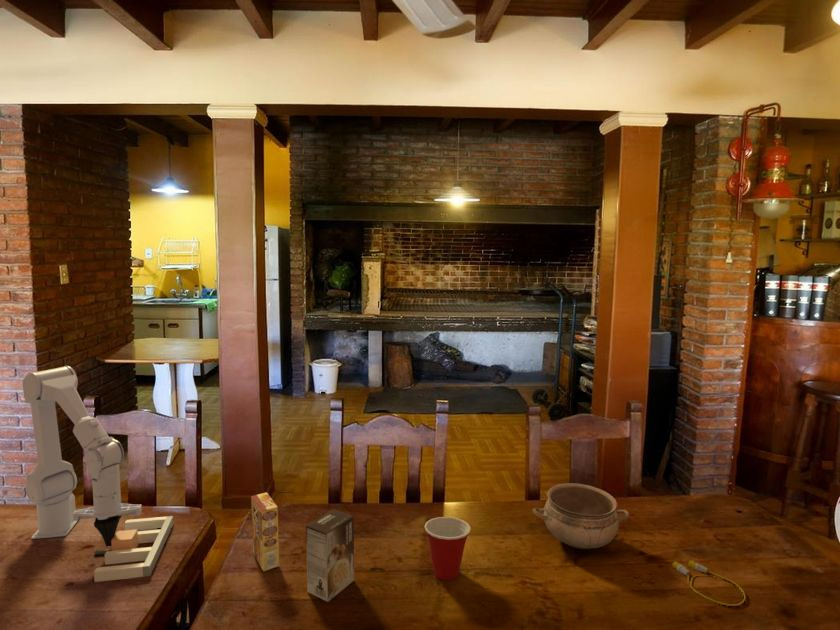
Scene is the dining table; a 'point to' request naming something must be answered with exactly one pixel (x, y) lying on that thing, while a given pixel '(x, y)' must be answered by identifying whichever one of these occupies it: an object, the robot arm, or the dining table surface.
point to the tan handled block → (122, 541)
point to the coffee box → (330, 554)
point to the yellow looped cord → (701, 568)
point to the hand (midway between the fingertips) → (110, 544)
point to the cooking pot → (581, 515)
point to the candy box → (265, 531)
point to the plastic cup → (446, 545)
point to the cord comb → (137, 550)
